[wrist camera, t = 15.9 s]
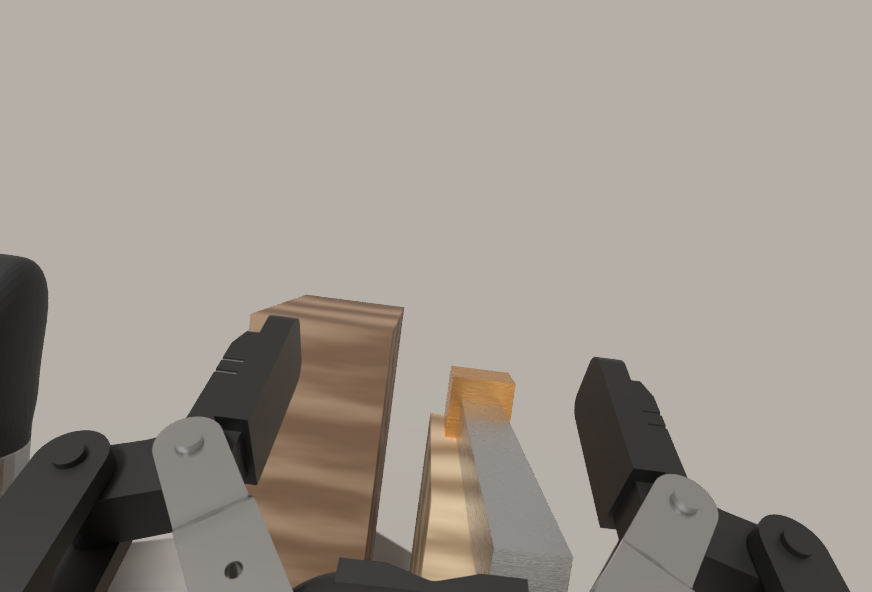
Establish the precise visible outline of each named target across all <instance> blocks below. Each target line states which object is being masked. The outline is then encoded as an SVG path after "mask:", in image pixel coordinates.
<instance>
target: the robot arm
mask: <svg viewBox="0 0 872 592" xmlns="http://www.w3.org/2000/svg"><path fill="white" fill-rule="evenodd" d="M47 312H48V288H47V282H46V279H45V276H44V273H43V271H42V270H41V269H40V267H39V266H38V265H37V264H36V263H35V262H34V261H32V260H30V259H28V258H24V257H19V256H13V255H5V254H0V592H107V590H108V588H109V586H110V584H111V582H112V580H113V578H114V576H115V574H116V572H117V570H118V568H119V566H120V564H121V562H122V561H123V559H124V557H125V555H126V553H127V551H128V549H129V547H130V545H131V543H132V541H133V540H136V539H141V538H146V537H151V536H156V535H161V534H166V533H171V532H173V537H174V541H175V545H176V548H177V552H178V556H179V560H180V564H181V567H182V571H183V575H184V579H185V582H186V586H187V590H188V592H529V589H528V579H523V578H515V577H506V576H497V575H489V574H477V575H471V576H464V577H458V578H452V579H446V580H440V581H431V580H428V579H425V578H423V577H420V576H418V575H415V574H413V573H410V572H408V571H405V570H403V569H400V568H398V567H395V566H393V565H390V564H388V563H385V562H376V561H367V560H359V559H350V558H341V557H339V561H338V565H337V570H336V572H331V573H326V574H323V575H319V576H316V577H314V578H311V579H309V580H307V581H304V582H303V583H301V584H299V585H297V586H296V587H294V588H292V587H291V585H290V583H289V580H288V578H287V575H286V573H285V571H284V568H283V566H282V563H281V561H280V558H279V556H278V554H277V551H276V549H275V546H274V544H273V541H272V539H271V537H270V534H269V532H268V529H267V527H266V525H265V522H264V520H263V517H262V515H261V512H260V510H259V508H258V505H257V503H256V501H255V499H254V497H253V496H252V495H249V494H248V491H247V489H246V487H245V484H249V485H258V482H259V480H260V477H261V475H262V472H263V470H264V467H265V465H266V462H267V460H268V457H269V455H270V452H271V449H272V447H273V444H274V442H275V439H276V437H277V434H278V432H279V429H280V427H281V424H282V422H283V419H284V416H285V414H286V411H287V409H288V406H289V404H290V401H291V399H292V396H293V394H294V391H295V389H296V386H297V383H298V380H299V377H300V372H301V364H302V357H301V336H300V321H299V319H298V318H292V317H285V316H277V315H269V316H268V318H267V320H266V321H265V323H264V325H263V327H262V329H261V331H260V332H251V331H247V332H245V333H244V334H243V335H241V336H240V337H239V338H237V339H236V340H235V341H233V342H232V343H231V345H230V346H229V348H228V350H227V351H226V353H225V355H224V356H223V360H221V361H220V363H219V365H218V366H217V368H216V372H214V373H213V375H212V376H211V378H210V380H209V381H208V383H207V384H206V386H205V388H204V390H203V391H202V393H201V394H200V396H199V398H198V399H197V401H196V403H195V404H194V406H193V408H192V409H191V411H190V413H189V414H188V416H187V417H186V418H184V419H181V420H178V421H176V422H174V423H172V424H170V425H169V426H167V427H166V428H165V429H164V430H162V431H161V432H160V434H159V435H158V436H157V437H156V438H153V439H149V440H143V441H136V442H130V443H122V444H116V445H110V443H109V441H108V439H107V438H106V437H105V436H104V435H103V434H101V433H99V432H95V431H90V430H83V431H75V432H70V433H67V434H64V435H62V436H60V437H57V438H55V439H53V440H51V441H50V442H48V443H47V444H46V445H44V446H43V447H41V448H40V449H39V450H38V451H37V452H36V453H35V454H34V456H33V457H32V458H31V460H30V444H31V428H32V420H33V415H34V410H35V406H36V401H37V395H38V386H39V375H40V366H41V358H42V349H43V343H44V336H45V329H46V323H47ZM574 410H575V420H576V424H577V429H578V433H579V437H580V442H581V446H582V451H583V455H584V459H585V463H586V468H587V472H588V477H589V481H590V485H591V490H592V494H593V499H594V503H595V507H596V511H597V516H598V520H599V525H600V527H601V528H608V529H616V530H617V534H618V538H619V541H618V542H617V544H616V546H615V547H614V549H613V551H612V553H611V554H610V556H609V558H608V560H607V562H606V563H605V565H604V567H603V569H602V571H601V572H600V574H599V576H598V578H597V579H596V581H595V583H594V585H593V586H592V588H591V590H590V592H850V591H849V589H848V587H847V585H846V583H845V581H844V580H843V578H842V576H841V574H840V572H839V571H838V569H837V567H836V565H835V563H834V561H833V560H832V558H831V556H830V554H829V552H828V550H827V549H826V547H825V546H824V544H823V543H822V542H821V541H820V539H819V538H818V537H817V536H816V535H815V534H814V533H813V532H812V531H810V530H809V529H808V528H806V527H805V526H804V525H802V524H801V523H799V522H797V521H795V520H793V519H791V518H788V517H786V516H782V515H775V514H774V515H768V516H765V517H764V518H762V520H761V521H760V522H759V523H758V524H755V523H752V522H750V521H747V520H745V519H742V518H740V517H737V516H735V515H732V514H730V513H727V512H725V511H723V510H721V509H719V508H717V507H716V504H715V502H714V500H713V499H712V498H711V496H710V495H709V494H708V492H706V490H704V489H703V488H702V487H701V486H700V485H699V484H697V483H696V482H694V481H692V480H691V479H689V478H687V476H686V473H685V471H684V468H683V466H682V464H681V462H680V459H679V457H678V454H677V452H676V449H675V447H674V444H673V442H672V440H671V437H670V435H669V432H668V430H667V429H665V423H664V420H663V418H662V416H660V411H659V408H658V406H657V404H656V401H655V399H654V397H653V396H652V394H651V393H650V392H649V391H648V390H647V389H646V388H645V386H644V385H643V384H642V383H641V382H640V381H632V380H631V379H630V376H629V373H628V371H627V368H626V365H625V363H624V362H623V361H622V360H615V359H608V358H599V357H594V358H592V360H591V361H590V364H589V366H588V368H587V371H586V374H585V376H584V378H583V381H582V384H581V386H580V389H579V391H578V393H577V396H576V400H575V409H574ZM29 460H30V461H29Z"/></svg>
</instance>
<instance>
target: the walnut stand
mask: <svg viewBox="0 0 872 592" xmlns="http://www.w3.org/2000/svg"><path fill="white" fill-rule="evenodd" d="M403 311H404V307H397V306H389V305H381V304H374V303H366V302H358V301H350V300H342V299H334V298H326V297H319V296H311V295H305V296H302V297H299V298H296V299H293V300H290V301H287V302H284V303H282V304H278V305H276V306H273V307H270V308H267V309H264V310H261V311H258V312H255V313H252V314H251V315H250V325H249V331H251V332H260V331H261V329H262V327H263V325H264V323H265V321H266V320H267V318H268V316H269V315H277V316H285V317H292V318H298V319H299V321H300V336H301V357H302V364H301V372H300V377H299V380H298V383H297V386H296V389H295V391H294V394H293V396H292V399H291V401H290V404H289V406H288V409H287V411H286V414H285V416H284V419H283V422H282V424H281V427H280V429H279V432H278V434H277V437H276V439H275V442H274V444H273V447H272V449H271V452H270V455H269V457H268V460H267V462H266V465H265V467H264V470H263V472H262V475H261V477H260V480H259V482H258V485H249V484H245V487H246V489H247V491H248V494H249V495H252V496H253V497H254V499H255V501H256V503H257V505H258V508H259V510H260V512H261V515H262V517H263V520H264V522H265V525H266V527H267V529H268V532H269V534H270V537H271V539H272V541H273V544H274V546H275V549H276V551H277V554H278V556H279V558H280V561H281V563H282V566H283V568H284V571H285V573H286V575H287V578H288V580H289V583H290V585H291V587H292V588H294V587H296V586H297V585H299V584H301V583H303V582H304V581H307V580H309V579H311V578H314V577H316V576H319V575H323V574H326V573H331V572H336V570H337V565H338V561H339V557H341V558H350V559H359V560H367V561H372V557H373V549H374V541H375V533H376V525H377V517H378V509H379V501H380V493H381V484H382V478H383V469H384V462H385V454H386V446H387V438H388V429H389V422H390V414H391V406H392V397H393V390H394V382H395V374H396V367H397V359H398V351H399V343H400V334H401V327H402V319H403Z"/></svg>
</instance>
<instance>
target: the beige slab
mask: <svg viewBox="0 0 872 592" xmlns="http://www.w3.org/2000/svg"><path fill="white" fill-rule="evenodd" d="M409 572H410V573H413V574H415V575H418V576H420V577H423V578H425V579H428V580H431V581H440V580H446V579H452V578H458V577H464V576H471V575H476V572H475V565H474V558H473V551H472V544H471V537H470V530H469V523H468V516H467V510H466V503H465V496H464V489H463V482H462V475H461V468H460V461H459V454H458V448H457V441H456V438H449V437H445V432H444V415H442V414H434V413H431V414H430V421H429V429H428V436H427V443H426V451H425V458H424V466H423V473H422V481H421V489H420V496H419V503H418V511H417V518H416V526H415V533H414V541H413V548H412V556H411V563H410V571H409Z"/></svg>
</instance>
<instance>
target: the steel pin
mask: <svg viewBox="0 0 872 592" xmlns="http://www.w3.org/2000/svg"><path fill="white" fill-rule="evenodd" d="M514 390H515V383H514V381H513V380H512V378H511V376H510V375H509V374H508V373H504V372H496V371H488V370H479V369H472V368H464V367H456V366H451V371H450V379H449V387H448V393H447V401H446V408H445V415H444V432H445V437H449V438H456V441H457V448H458V454H459V461H460V468H461V475H462V482H463V489H464V496H465V503H466V510H467V516H468V523H469V530H470V537H471V544H472V551H473V558H474V565H475V572H476V575H477V574H489V575H497V576H506V577H515V578H523V579H528V589H529V592H567V591H568V586H569V579H570V572H571V567H572V561H573V556H572V554H571V552H570V550H569V548H568V545H567V543H566V541H565V539H564V537H563V535H562V533H561V531H560V529H559V526H558V524H557V522H556V520H555V518H554V516H553V514H552V512H551V509H550V507H549V506H548V503H547V501H546V499H545V497H544V495H543V493H542V490H541V488H540V486H539V484H538V482H537V480H536V478H535V476H534V474H533V471H532V469H531V467H530V465H529V463H528V461H527V459H526V457H525V454H524V452H523V450H522V448H521V446H520V444H519V442H518V440H517V438H516V435H515V433H514V431H513V429H512V427H511V425H510V418H511V411H512V404H513V398H514Z"/></svg>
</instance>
